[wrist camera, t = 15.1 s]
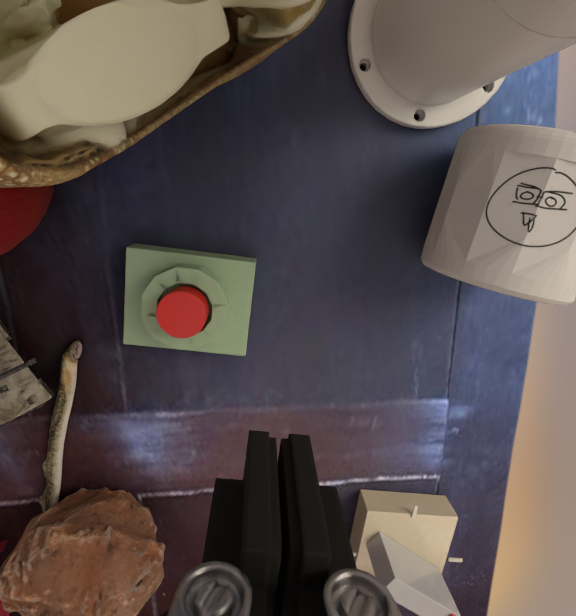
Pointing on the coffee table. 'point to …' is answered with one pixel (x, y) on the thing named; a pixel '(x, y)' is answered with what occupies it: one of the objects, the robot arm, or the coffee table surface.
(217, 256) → the button box
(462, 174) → the mug
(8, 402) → the toy tank
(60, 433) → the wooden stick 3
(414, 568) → the grey rectangular block
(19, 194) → the apple
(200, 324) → the button
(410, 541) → the base
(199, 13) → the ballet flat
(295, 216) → the coffee table surface
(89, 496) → the decorative rock
